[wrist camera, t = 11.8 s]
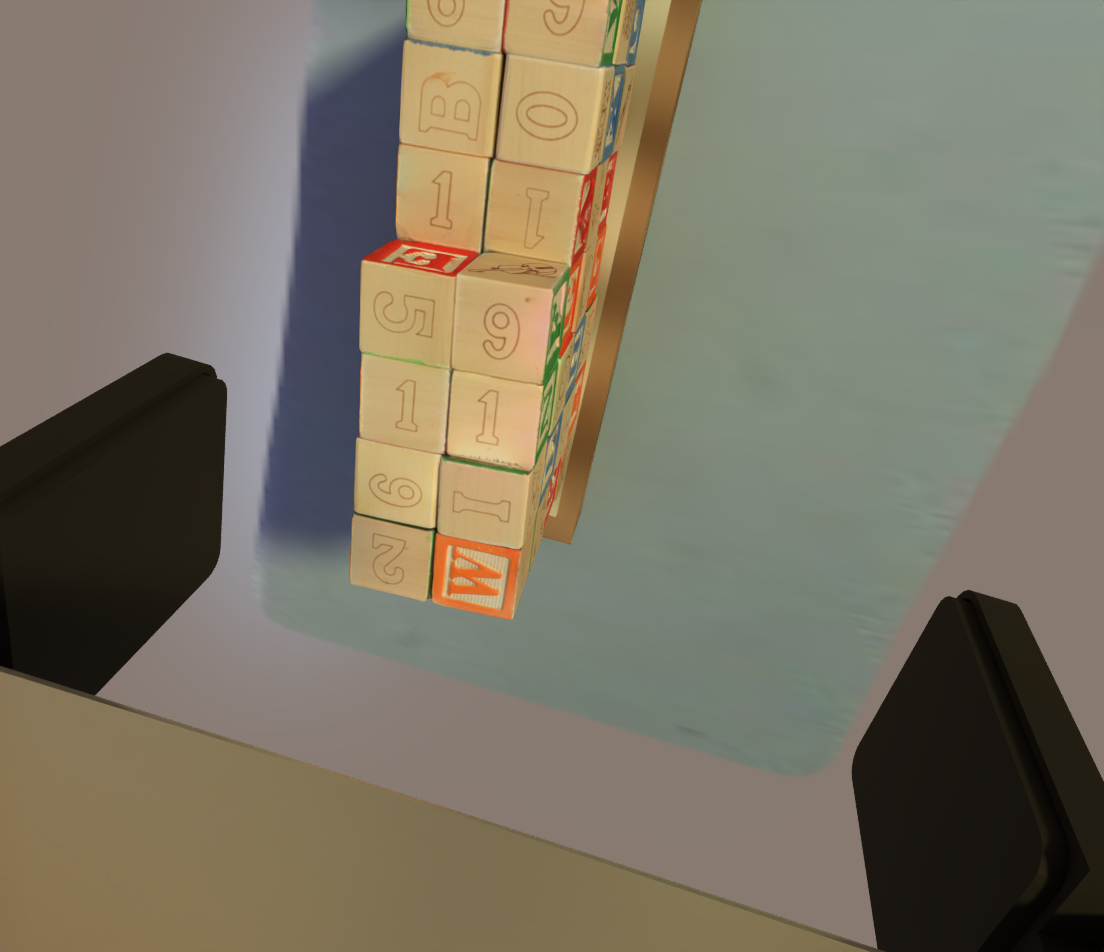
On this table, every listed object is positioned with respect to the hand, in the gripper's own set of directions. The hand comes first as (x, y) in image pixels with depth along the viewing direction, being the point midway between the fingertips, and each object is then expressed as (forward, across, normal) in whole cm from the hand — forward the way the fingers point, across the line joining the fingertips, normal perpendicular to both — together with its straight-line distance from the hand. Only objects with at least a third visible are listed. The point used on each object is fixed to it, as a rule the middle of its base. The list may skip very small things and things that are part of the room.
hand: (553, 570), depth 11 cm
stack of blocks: (+28, +6, +4) cm, 29 cm away
